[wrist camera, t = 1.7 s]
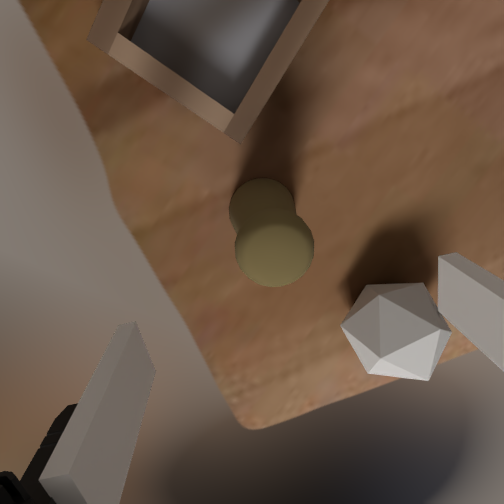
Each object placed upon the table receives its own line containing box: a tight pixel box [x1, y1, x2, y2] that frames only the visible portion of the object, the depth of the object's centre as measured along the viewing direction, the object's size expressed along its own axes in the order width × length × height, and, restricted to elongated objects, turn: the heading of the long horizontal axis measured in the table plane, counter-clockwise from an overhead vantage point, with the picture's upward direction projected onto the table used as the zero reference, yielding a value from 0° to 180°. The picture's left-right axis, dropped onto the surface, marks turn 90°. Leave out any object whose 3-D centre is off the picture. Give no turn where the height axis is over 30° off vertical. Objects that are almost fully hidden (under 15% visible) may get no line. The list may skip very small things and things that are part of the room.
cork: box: [229, 178, 314, 287], centre depth 26 cm, size 6×6×11 cm
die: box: [340, 283, 452, 381], centre depth 32 cm, size 8×9×10 cm
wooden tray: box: [86, 0, 329, 144], centre depth 24 cm, size 12×12×4 cm
